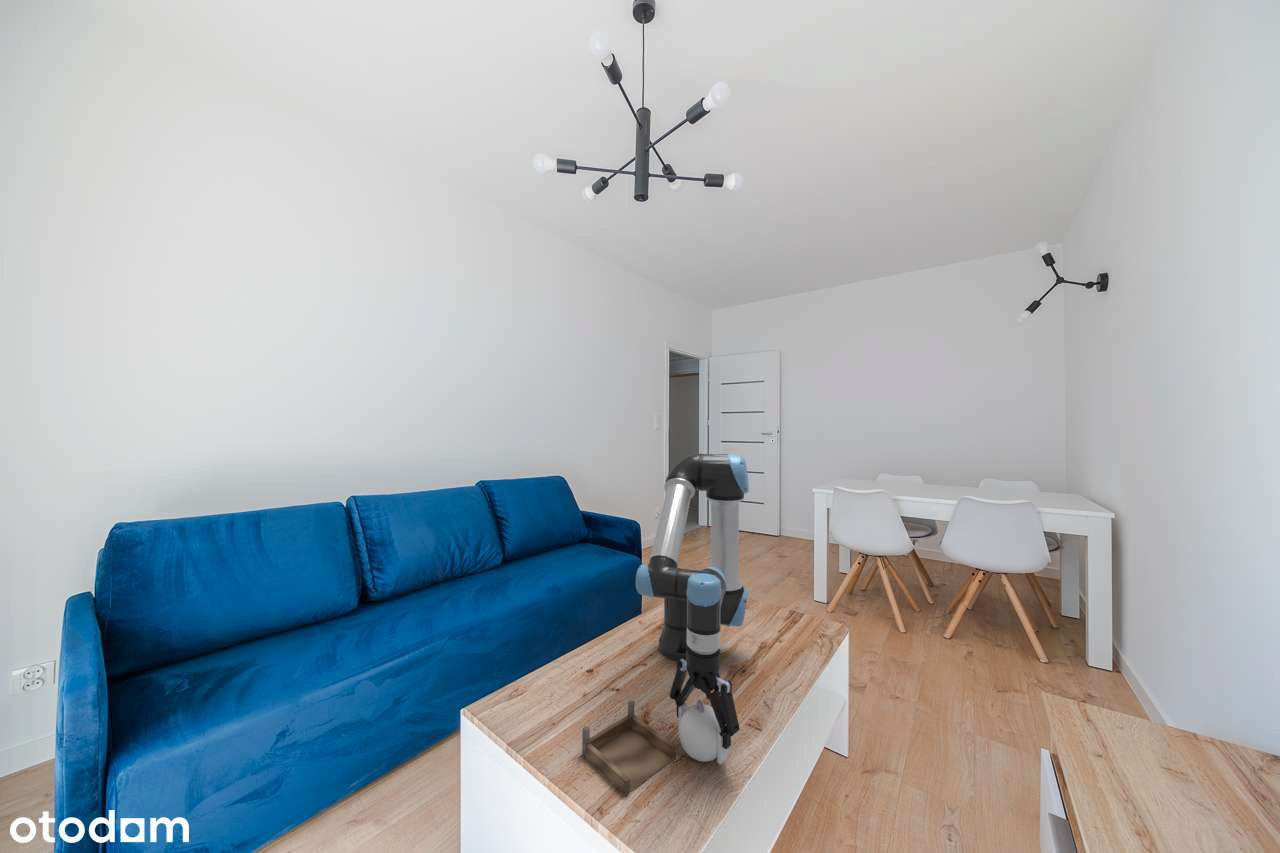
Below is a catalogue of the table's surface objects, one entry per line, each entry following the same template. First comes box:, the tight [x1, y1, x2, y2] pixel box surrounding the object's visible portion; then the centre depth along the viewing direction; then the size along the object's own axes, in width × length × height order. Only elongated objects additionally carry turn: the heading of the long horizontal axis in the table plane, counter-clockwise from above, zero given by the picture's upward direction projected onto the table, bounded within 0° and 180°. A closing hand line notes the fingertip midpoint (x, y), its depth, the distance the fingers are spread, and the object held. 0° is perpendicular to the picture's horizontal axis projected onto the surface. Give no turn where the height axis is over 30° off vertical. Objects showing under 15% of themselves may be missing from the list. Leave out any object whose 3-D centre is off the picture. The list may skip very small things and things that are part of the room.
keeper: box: [581, 700, 677, 796], centre depth 95 cm, size 15×15×6 cm
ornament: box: [678, 699, 720, 763], centre depth 96 cm, size 10×10×12 cm
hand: (702, 746), depth 96 cm, fingers closed on ornament, 10 cm apart
